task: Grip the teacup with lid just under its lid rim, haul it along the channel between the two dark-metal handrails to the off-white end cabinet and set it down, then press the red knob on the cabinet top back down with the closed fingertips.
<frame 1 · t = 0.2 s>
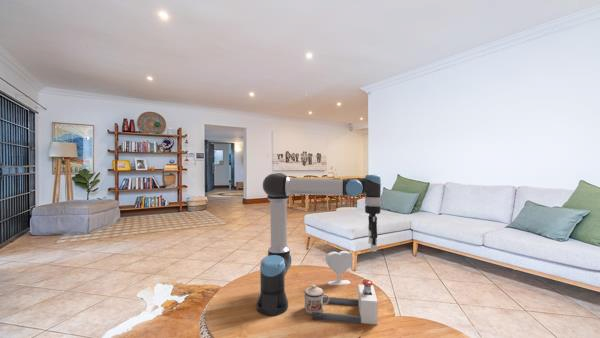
hand: (372, 247, 136), 28 cm above the table, fingers open, 13 cm apart
heart sculpture: (339, 282, 158), on the table
handrail: (336, 311, 127), on the table
red knob: (367, 289, 124), point 12 cm above the table, slide at 0.0 cm
teacup with lid: (316, 310, 128), on the table
end cabinet: (367, 313, 125), on the table
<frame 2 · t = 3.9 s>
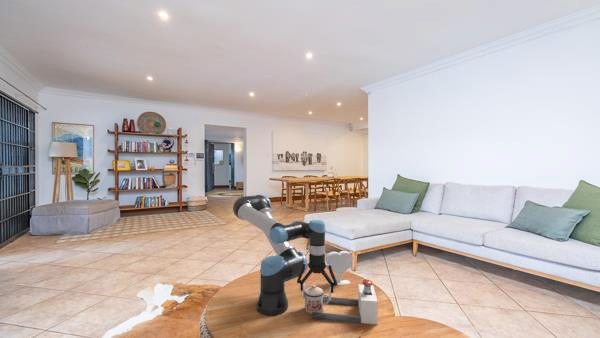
hand: (316, 298, 128), 5 cm above the table, fingers closed on teacup with lid, 12 cm apart
teacup with lid: (316, 310, 128), on the table, touching gripper
everything else where it was.
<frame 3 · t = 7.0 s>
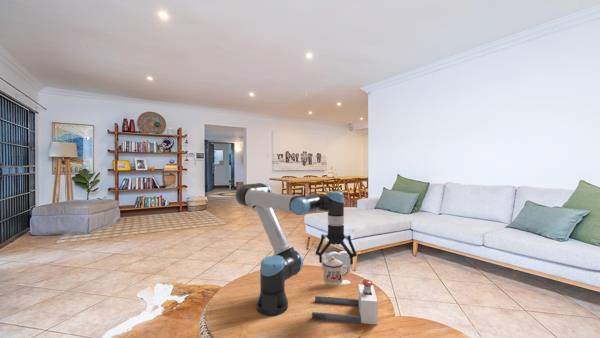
hand: (336, 270, 126), 19 cm above the table, fingers closed on teacup with lid, 12 cm apart
teacup with lid: (336, 281, 126), point 14 cm above the table, touching gripper
everything else where it was.
when the fingers open (7 cm above the table, at t = 10.4 s): teacup with lid drops 1 cm, on the table.
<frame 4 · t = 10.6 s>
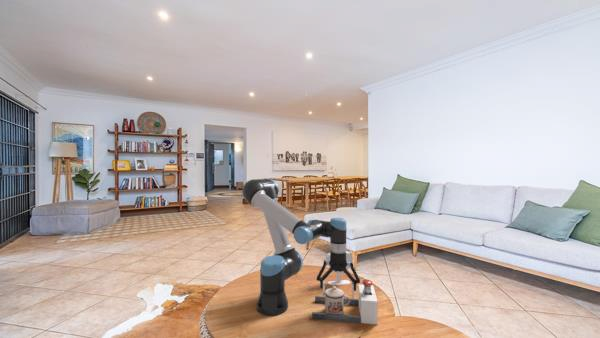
hand: (338, 296, 126), 7 cm above the table, fingers open, 13 cm apart
teacup with lid: (337, 311, 127), on the table
everything else where it was.
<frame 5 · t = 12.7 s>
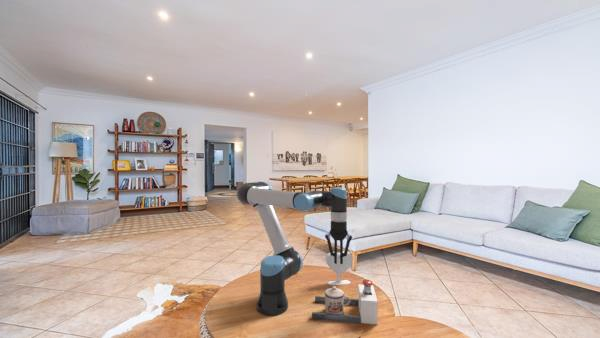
hand: (338, 270, 126), 19 cm above the table, fingers closed
nothing on the table moved.
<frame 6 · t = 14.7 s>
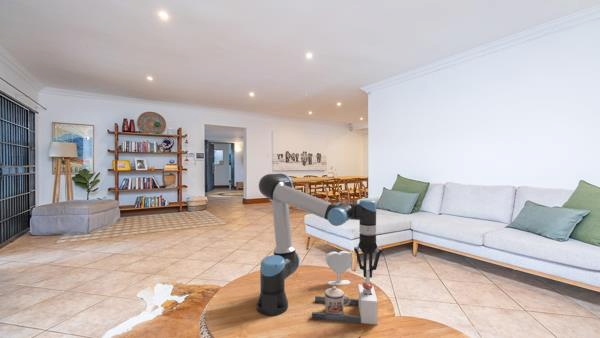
hand: (367, 284, 124), 14 cm above the table, fingers closed
red knob: (367, 292, 124), point 10 cm above the table, slide at 1.4 cm, touching gripper
everything else where it was.
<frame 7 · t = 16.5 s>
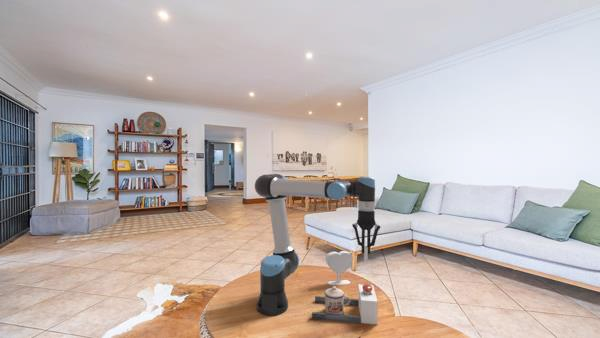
hand: (365, 260, 125), 25 cm above the table, fingers closed
red knob: (367, 294, 124), point 9 cm above the table, slide at 2.4 cm
everything else where it was.
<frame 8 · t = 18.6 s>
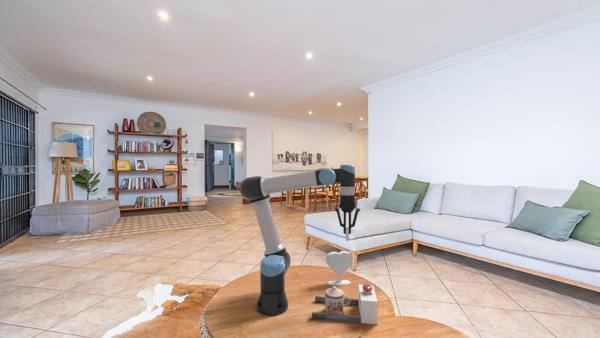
hand: (347, 240, 138), 30 cm above the table, fingers closed
nothing on the table moved.
at the end: teacup with lid inside the target area (1.1 cm from its centre), on the table; teacup with lid tilted 0°; red knob slide at 2.4 cm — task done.
